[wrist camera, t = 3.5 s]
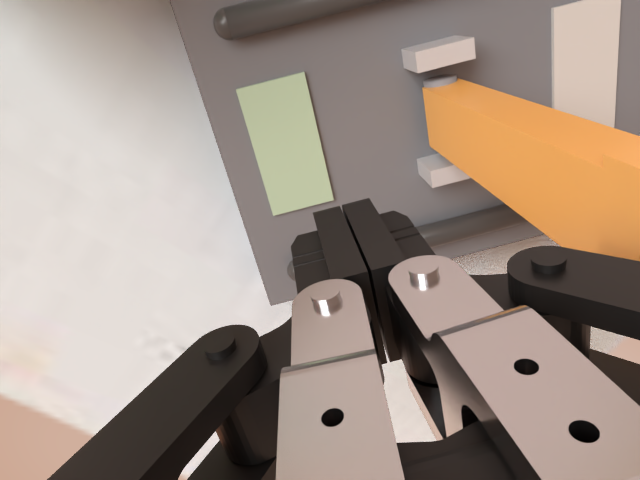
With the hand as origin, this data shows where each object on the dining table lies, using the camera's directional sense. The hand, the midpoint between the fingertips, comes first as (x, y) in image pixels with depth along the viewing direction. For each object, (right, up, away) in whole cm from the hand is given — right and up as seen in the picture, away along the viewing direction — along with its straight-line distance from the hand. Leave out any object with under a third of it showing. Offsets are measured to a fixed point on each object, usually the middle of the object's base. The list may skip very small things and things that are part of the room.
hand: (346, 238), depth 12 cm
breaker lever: (+5, +6, +9) cm, 11 cm away
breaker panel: (+4, +7, +12) cm, 14 cm away
